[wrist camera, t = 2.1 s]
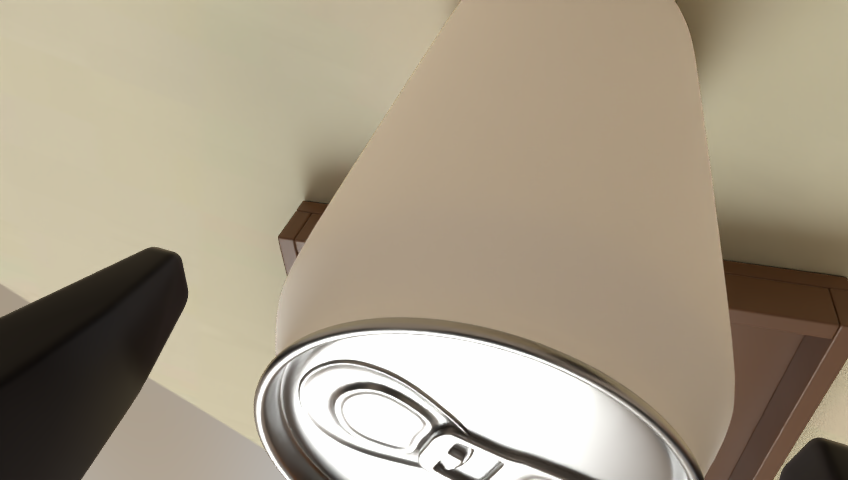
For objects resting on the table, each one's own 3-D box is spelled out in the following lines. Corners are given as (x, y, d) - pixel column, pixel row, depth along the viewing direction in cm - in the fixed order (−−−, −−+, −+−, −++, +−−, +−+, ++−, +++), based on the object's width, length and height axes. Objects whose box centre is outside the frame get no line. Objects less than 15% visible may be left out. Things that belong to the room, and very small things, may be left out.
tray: (847, 276, 18) (866, 329, 17) (712, 526, 28) (715, 573, 26) (303, 200, 22) (276, 236, 20) (350, 442, 32) (335, 479, 30)
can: (507, -111, 14) (273, 185, 5) (755, 19, 15) (917, 499, 6) (410, 112, 19) (194, 477, 10) (602, 208, 19) (561, 646, 10)
